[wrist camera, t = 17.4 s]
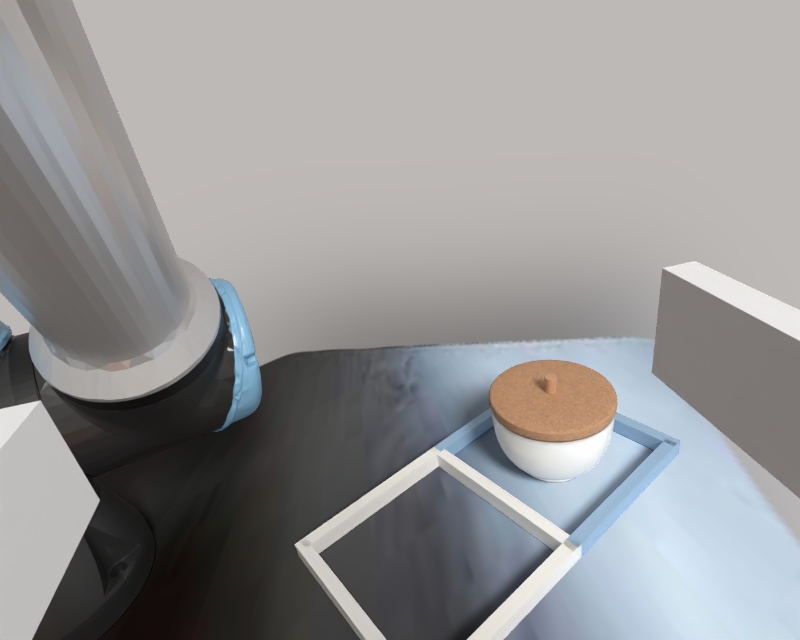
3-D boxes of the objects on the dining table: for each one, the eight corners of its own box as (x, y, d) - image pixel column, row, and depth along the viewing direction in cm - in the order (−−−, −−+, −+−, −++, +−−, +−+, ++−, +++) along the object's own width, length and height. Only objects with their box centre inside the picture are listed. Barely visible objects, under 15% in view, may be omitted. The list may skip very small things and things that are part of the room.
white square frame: (298, 556, 41) (294, 544, 41) (439, 455, 49) (437, 444, 49) (423, 724, 30) (420, 711, 29) (581, 556, 38) (581, 543, 37)
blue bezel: (435, 458, 49) (433, 446, 48) (534, 387, 57) (534, 376, 56) (577, 560, 37) (577, 547, 37) (678, 453, 45) (680, 440, 44)
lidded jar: (536, 522, 41) (533, 434, 37) (474, 444, 50) (466, 367, 46) (640, 474, 44) (648, 387, 39) (563, 409, 53) (563, 333, 49)
